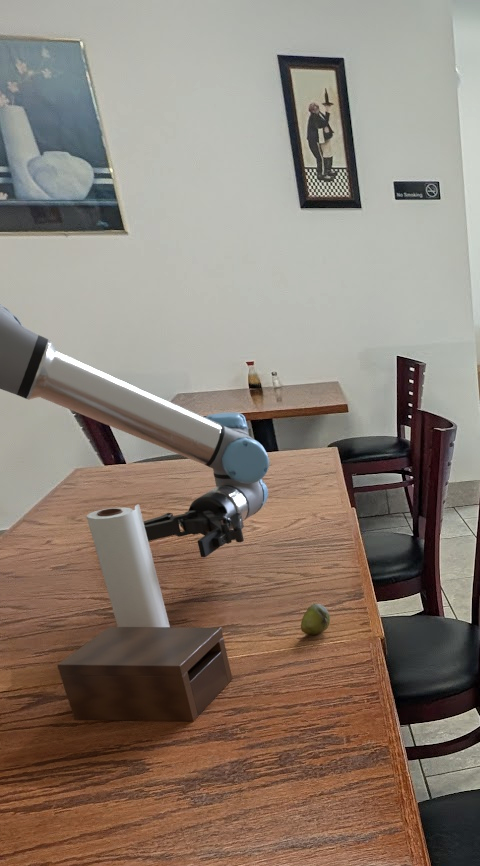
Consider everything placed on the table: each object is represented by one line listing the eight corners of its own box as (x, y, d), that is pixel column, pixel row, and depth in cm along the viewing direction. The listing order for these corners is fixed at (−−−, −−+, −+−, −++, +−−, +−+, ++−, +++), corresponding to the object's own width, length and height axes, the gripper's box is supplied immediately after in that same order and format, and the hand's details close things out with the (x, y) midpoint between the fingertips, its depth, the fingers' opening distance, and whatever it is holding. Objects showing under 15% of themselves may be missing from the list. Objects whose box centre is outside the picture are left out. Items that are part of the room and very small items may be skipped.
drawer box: (74, 719, 107) (56, 664, 103) (124, 677, 117) (109, 626, 114) (193, 721, 106) (179, 665, 102) (232, 678, 116) (221, 627, 113)
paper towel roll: (126, 658, 123) (87, 519, 114) (122, 644, 128) (84, 510, 119) (177, 646, 127) (144, 511, 117) (171, 633, 131) (138, 502, 122)
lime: (302, 641, 128) (297, 611, 126) (304, 628, 132) (299, 600, 130) (331, 638, 129) (326, 608, 126) (332, 626, 133) (328, 597, 131)
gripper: (288, 531, 150) (241, 571, 131) (156, 532, 151) (90, 571, 132) (281, 491, 146) (231, 525, 127) (146, 492, 148) (77, 526, 129)
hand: (159, 549), depth 130 cm, fingers open, 13 cm apart
